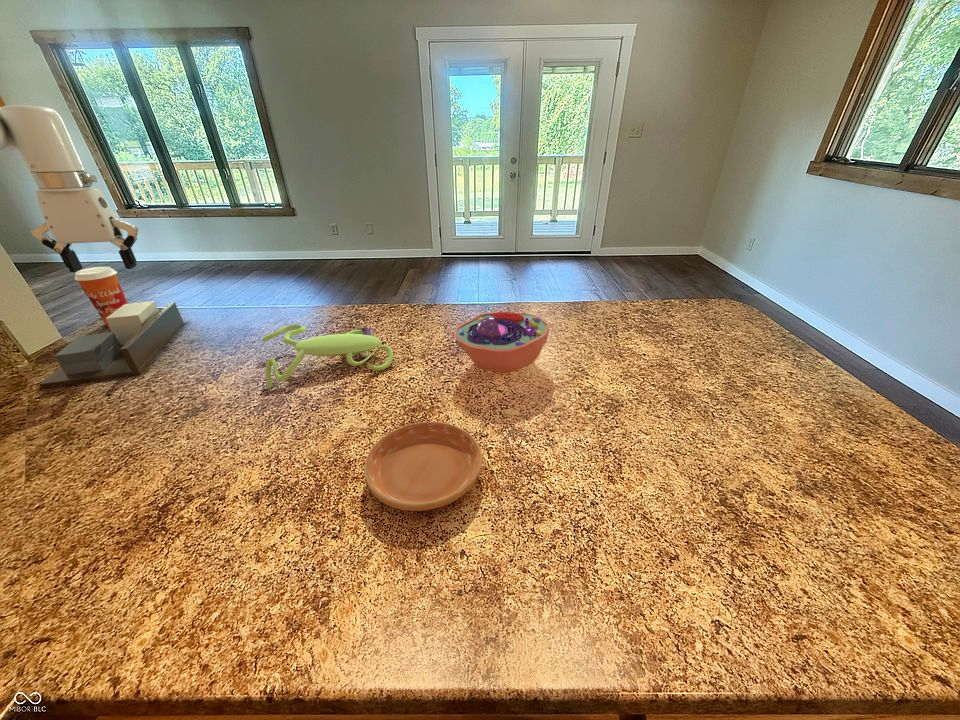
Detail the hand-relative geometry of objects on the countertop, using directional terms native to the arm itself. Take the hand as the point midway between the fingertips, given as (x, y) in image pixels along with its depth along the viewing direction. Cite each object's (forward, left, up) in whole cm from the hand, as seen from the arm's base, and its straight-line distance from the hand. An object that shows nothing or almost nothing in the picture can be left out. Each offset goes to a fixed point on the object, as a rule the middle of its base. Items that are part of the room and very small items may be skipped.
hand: (104, 269), depth 82 cm
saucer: (+57, -63, -17) cm, 87 cm away
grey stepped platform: (-1, -6, -17) cm, 18 cm away
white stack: (+1, 0, -17) cm, 17 cm away
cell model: (+78, -38, -17) cm, 88 cm away
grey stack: (-3, -12, -17) cm, 21 cm away
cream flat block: (+1, 0, -12) cm, 12 cm away
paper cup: (-9, +13, -17) cm, 24 cm away
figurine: (+43, -24, -17) cm, 52 cm away
